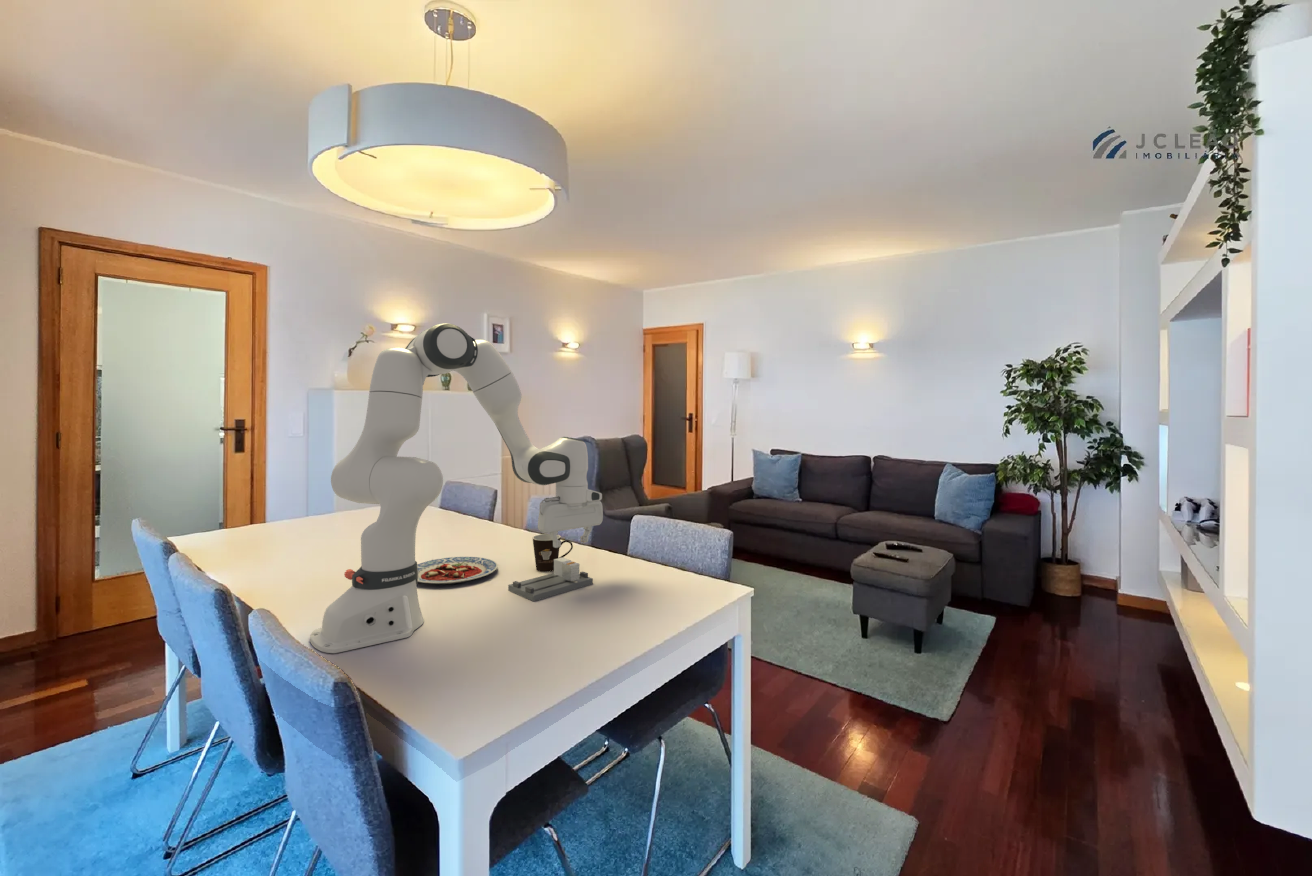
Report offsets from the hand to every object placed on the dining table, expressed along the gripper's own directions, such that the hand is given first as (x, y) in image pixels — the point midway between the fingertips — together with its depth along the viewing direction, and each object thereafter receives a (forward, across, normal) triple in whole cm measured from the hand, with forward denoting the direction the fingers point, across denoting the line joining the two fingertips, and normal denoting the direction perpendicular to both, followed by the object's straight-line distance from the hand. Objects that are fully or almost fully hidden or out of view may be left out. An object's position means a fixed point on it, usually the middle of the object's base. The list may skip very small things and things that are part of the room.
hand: (570, 544), depth 152 cm
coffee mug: (+12, +6, +18) cm, 22 cm away
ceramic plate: (+12, -18, +34) cm, 40 cm away
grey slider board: (+12, -4, +4) cm, 13 cm away
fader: (+10, +1, +1) cm, 10 cm away
